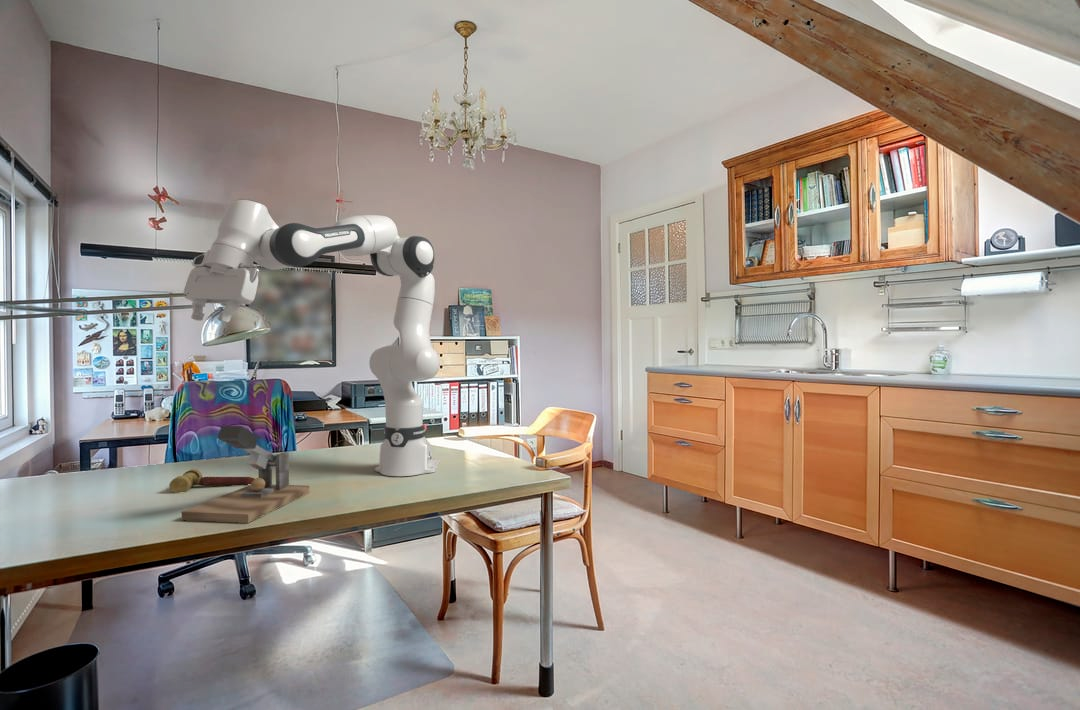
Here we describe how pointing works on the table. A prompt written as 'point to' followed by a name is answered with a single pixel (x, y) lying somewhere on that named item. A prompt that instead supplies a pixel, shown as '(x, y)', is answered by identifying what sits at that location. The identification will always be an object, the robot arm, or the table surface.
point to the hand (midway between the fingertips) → (209, 320)
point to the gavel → (204, 481)
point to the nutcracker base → (251, 497)
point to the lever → (247, 445)
